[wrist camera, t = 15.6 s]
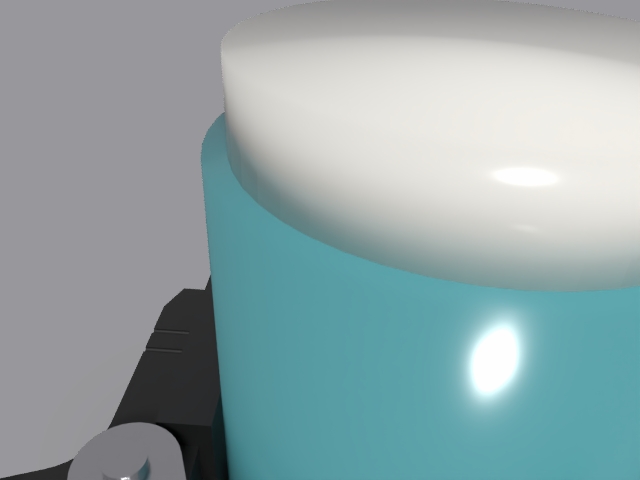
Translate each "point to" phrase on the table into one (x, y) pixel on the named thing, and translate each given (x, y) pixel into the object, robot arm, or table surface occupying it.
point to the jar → (427, 242)
